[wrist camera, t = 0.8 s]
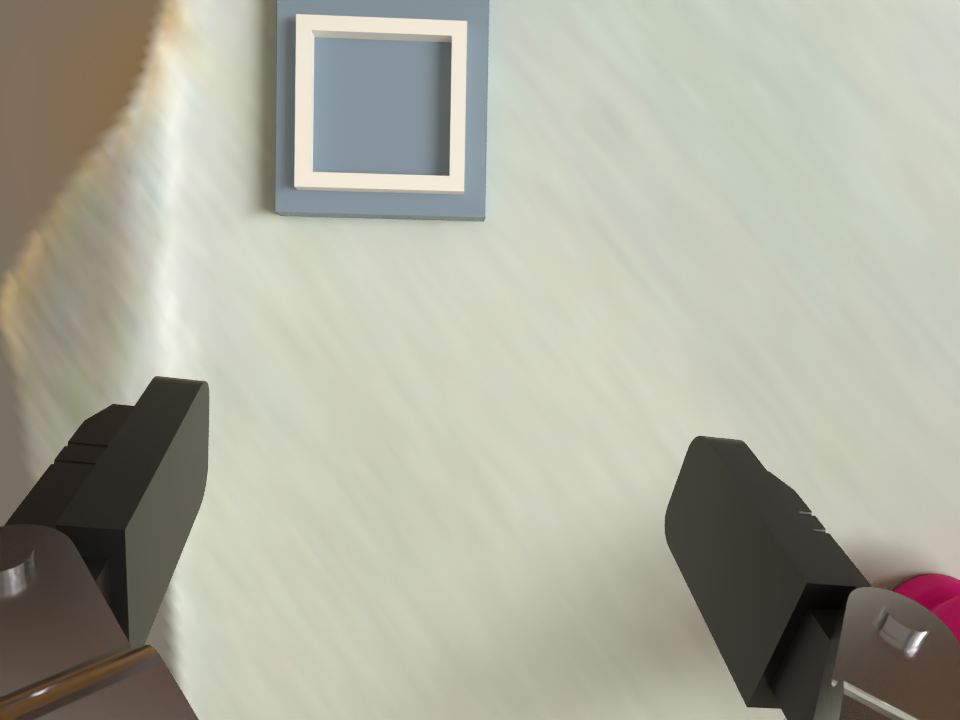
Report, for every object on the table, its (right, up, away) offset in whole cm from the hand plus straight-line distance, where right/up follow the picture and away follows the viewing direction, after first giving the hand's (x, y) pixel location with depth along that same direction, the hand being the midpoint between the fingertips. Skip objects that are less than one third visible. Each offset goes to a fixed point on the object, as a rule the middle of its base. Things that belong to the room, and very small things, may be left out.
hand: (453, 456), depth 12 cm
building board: (-4, +20, +24) cm, 31 cm away
